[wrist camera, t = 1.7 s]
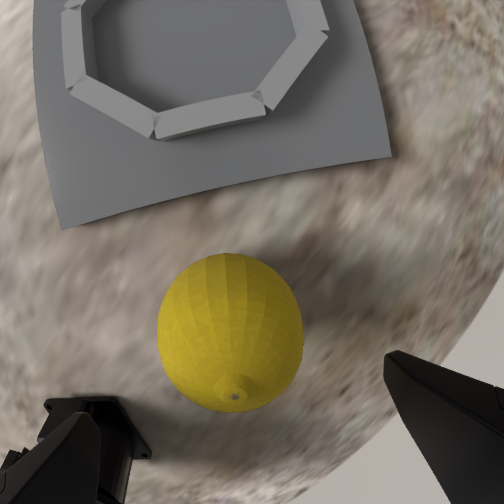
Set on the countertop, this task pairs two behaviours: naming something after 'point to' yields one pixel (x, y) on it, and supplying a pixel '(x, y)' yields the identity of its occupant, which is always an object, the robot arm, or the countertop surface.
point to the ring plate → (197, 96)
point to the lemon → (230, 333)
